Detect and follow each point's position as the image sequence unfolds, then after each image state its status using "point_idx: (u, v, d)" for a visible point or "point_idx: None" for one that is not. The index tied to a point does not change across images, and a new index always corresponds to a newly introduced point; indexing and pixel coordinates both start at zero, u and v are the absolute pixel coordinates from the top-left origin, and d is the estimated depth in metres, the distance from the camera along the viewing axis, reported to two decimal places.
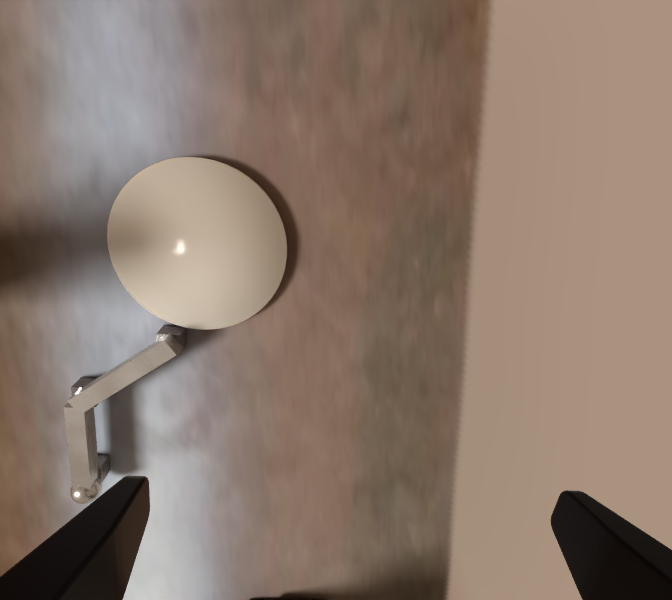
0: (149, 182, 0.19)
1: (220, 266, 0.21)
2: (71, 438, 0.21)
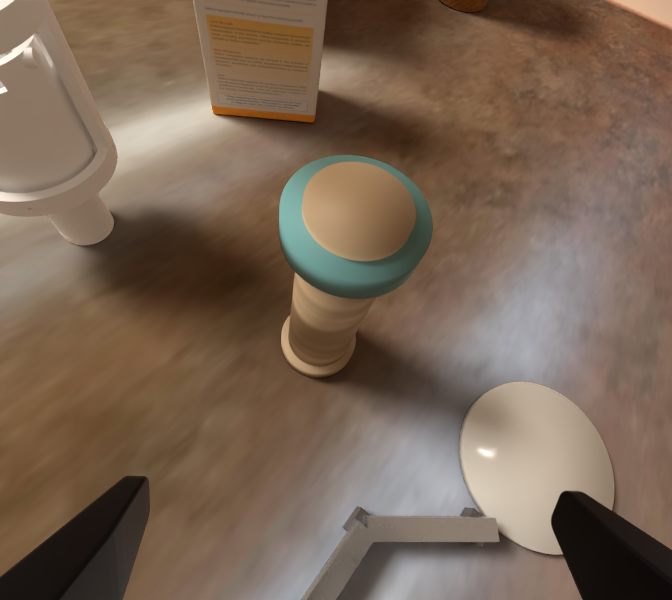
0: (526, 392, 0.24)
1: (550, 486, 0.22)
2: (336, 565, 0.17)
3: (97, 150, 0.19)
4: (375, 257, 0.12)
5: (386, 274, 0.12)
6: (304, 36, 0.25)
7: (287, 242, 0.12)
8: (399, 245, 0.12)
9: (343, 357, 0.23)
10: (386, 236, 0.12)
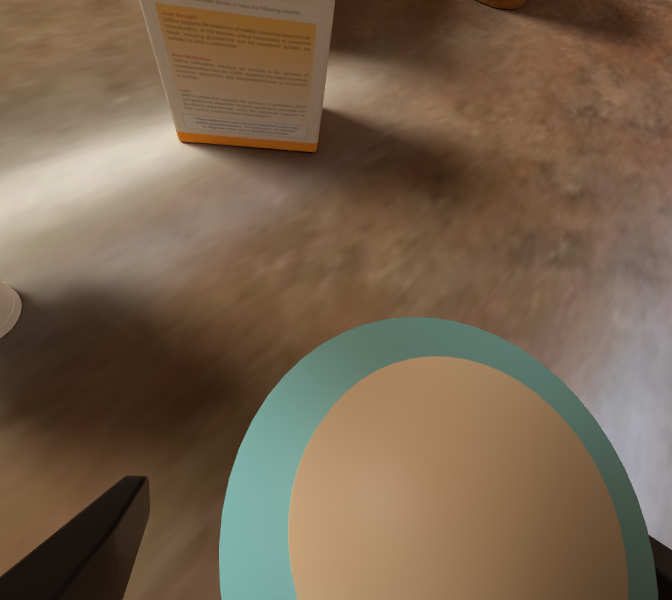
0: None
1: None
2: None
3: None
4: None
5: None
6: (303, 35, 0.17)
7: None
8: None
9: None
10: None
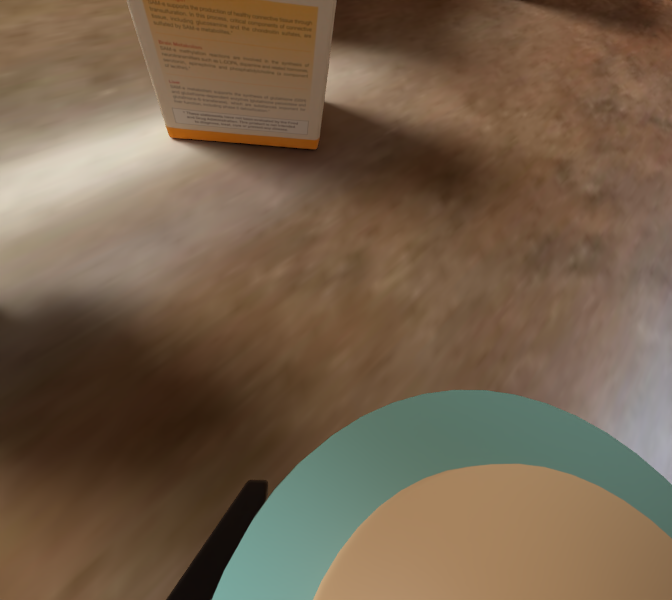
0: None
1: None
2: None
3: None
4: None
5: None
6: (303, 20, 0.16)
7: None
8: None
9: None
10: None
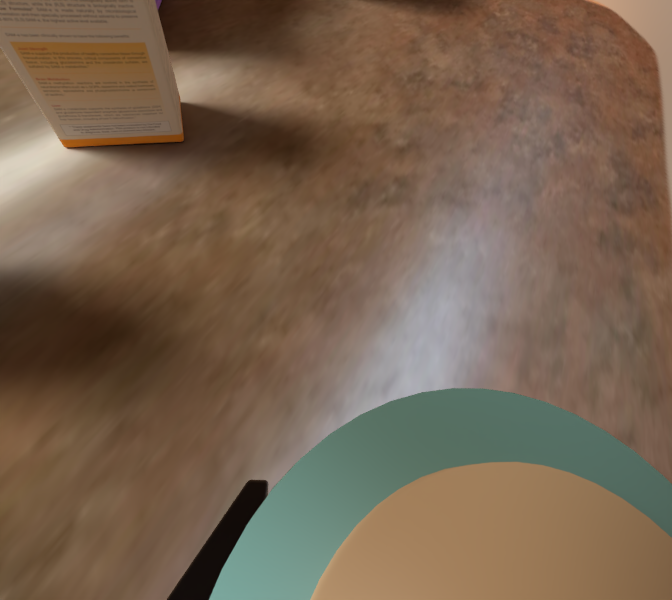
0: None
1: None
2: None
3: None
4: None
5: None
6: (137, 51, 0.22)
7: None
8: None
9: None
10: None
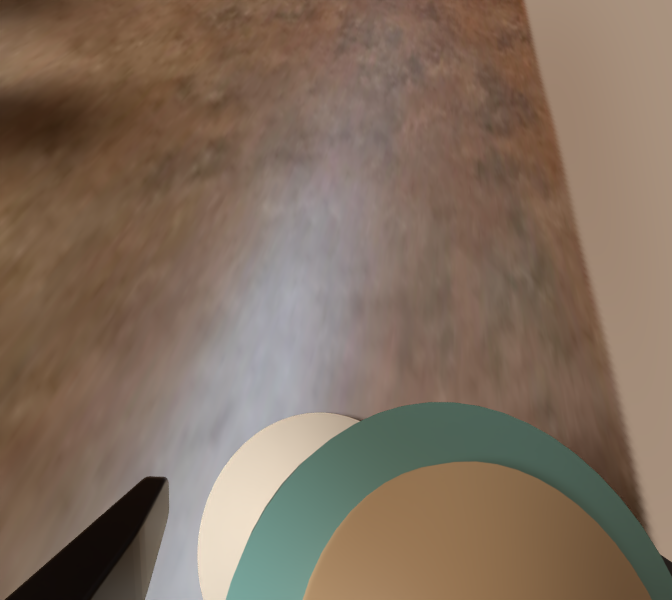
0: (285, 435, 0.16)
1: None
2: None
3: None
4: None
5: None
6: None
7: None
8: None
9: None
10: None
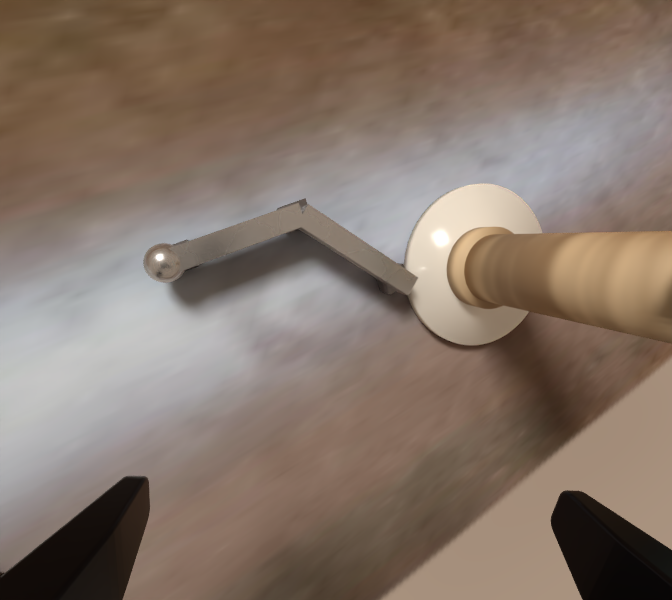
0: (515, 207, 0.22)
1: None
2: (256, 223, 0.16)
3: None
4: None
5: None
6: None
7: None
8: None
9: (488, 303, 0.21)
10: None
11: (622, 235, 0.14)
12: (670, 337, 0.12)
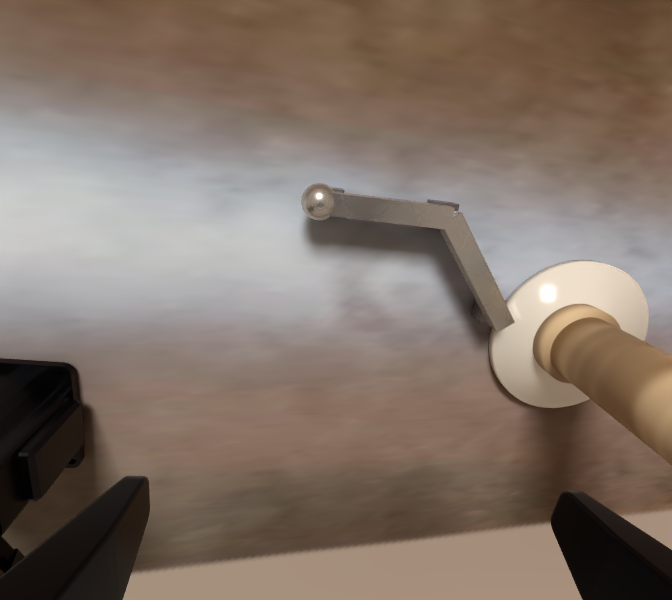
0: (635, 305, 0.22)
1: None
2: (410, 207, 0.17)
3: None
4: None
5: None
6: None
7: None
8: None
9: (559, 374, 0.21)
10: None
11: None
12: None
